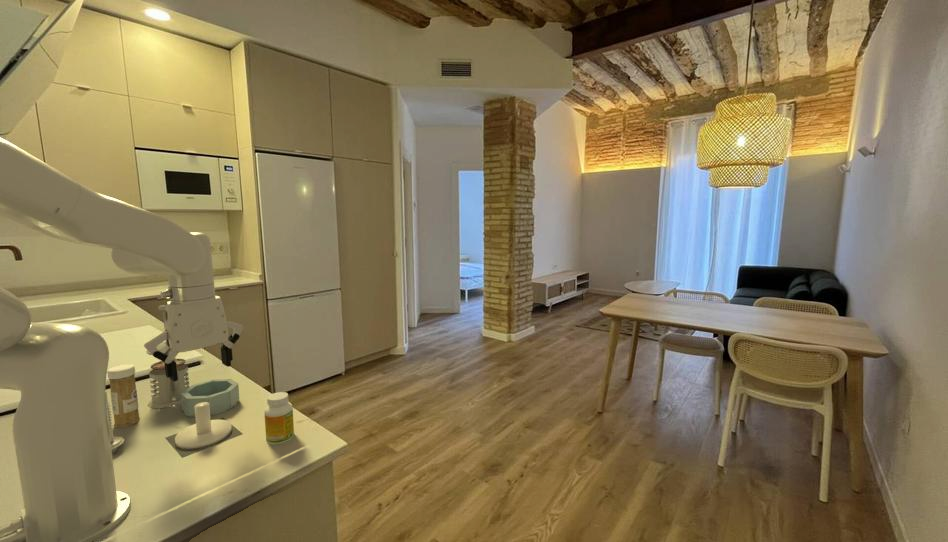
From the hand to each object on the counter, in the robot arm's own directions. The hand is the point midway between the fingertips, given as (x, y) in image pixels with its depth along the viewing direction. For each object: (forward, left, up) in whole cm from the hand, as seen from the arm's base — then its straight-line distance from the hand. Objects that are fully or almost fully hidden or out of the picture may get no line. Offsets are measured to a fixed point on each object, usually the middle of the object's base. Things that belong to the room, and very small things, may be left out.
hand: (201, 371), depth 83 cm
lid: (-1, 0, -14) cm, 14 cm away
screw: (-15, +8, -15) cm, 22 cm away
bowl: (+5, +14, -15) cm, 21 cm away
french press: (0, +26, -15) cm, 30 cm away
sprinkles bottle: (-10, +20, -15) cm, 26 cm away
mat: (-1, 0, -15) cm, 15 cm away
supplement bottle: (+9, -13, -15) cm, 22 cm away
